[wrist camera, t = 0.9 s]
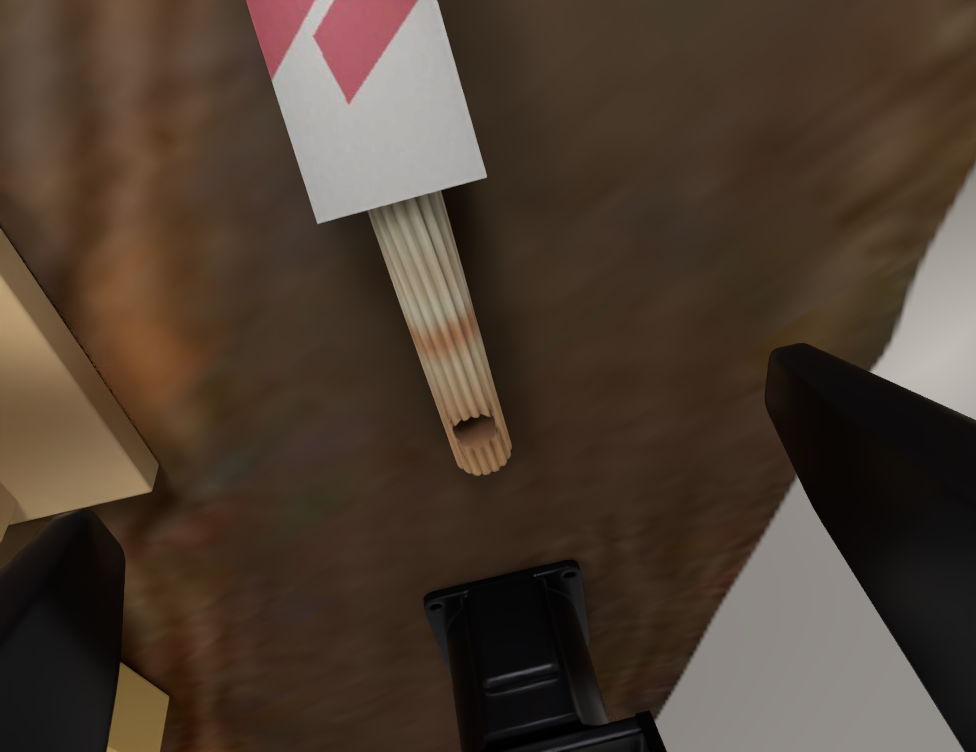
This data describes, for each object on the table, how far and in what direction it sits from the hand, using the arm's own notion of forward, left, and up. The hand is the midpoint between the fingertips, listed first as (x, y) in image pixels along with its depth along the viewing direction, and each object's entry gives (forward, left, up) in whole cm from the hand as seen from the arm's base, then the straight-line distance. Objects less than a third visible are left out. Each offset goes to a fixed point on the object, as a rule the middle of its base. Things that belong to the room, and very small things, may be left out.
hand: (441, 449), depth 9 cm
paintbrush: (0, 0, -11) cm, 11 cm away
